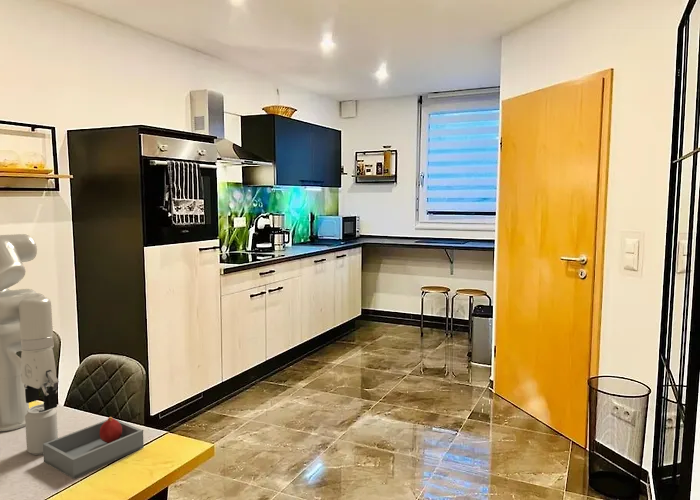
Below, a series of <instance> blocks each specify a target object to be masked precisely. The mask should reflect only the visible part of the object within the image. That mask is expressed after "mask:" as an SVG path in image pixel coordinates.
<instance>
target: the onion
mask: <svg viewBox="0 0 700 500" xmlns="http://www.w3.org/2000/svg"><path fill="white" fill-rule="evenodd" d="M113 418H114V417H112V416H109V417H108V418H107V419H106V420H107V421H106V422H104V423H103V425H102V426H101V428H100V438H101V439H102V440H103V441H104V442H106V443H111V442H113V441H116V440H118V439H119V438H120V437H121V435H122V426H121V424H120V423H119V422H118V421H117V420H118V419H117V420H115V419H116V418H114V419H113Z"/></svg>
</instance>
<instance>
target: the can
mask: <svg viewBox="0 0 700 500" xmlns="http://www.w3.org/2000/svg"><path fill="white" fill-rule="evenodd" d="M27 412H28V413H27V414H26V415H25V425H26V426H25V440H26V452H28V453H30V454H31V455H35V456H36V455H37V456H38V455H43V444H44V443H46V442H49V441H52V440H54V439H57V438H59V434H58V433H59V432H58V430H59V429H58V416H57V415H58V414H57V413H58V412H57V409H56V408H52V409H49V410H44V403H41V404H37V405H34V406H31V407H29V409H28V410H27Z"/></svg>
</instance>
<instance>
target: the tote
mask: <svg viewBox="0 0 700 500" xmlns="http://www.w3.org/2000/svg"><path fill="white" fill-rule="evenodd" d="M112 418H113V419H115V420H117V421H118V422H119V423H120V424H121V426H122V435H121V437H120V438H119V439H118V440H116V441H113V442H111V443H106V442H104V441H103V440H102V439H101V438H100V428H101V426H102V425H103V423H104V422H106V421H107V420H108V419H105V420H102V421H100V422H97V423H95V424H92V425H89V426H87V427H84V428H82V429H79V430H76V431H73V432H71V433H68V434H65V435H63V436H60V437H58V438H57V439H54V440H52V441H49V442H46V443H44V444H43V454H42V455H43V463H45V464H47V465H48V466H50V467H52V468H53V469H55V470H57V471H59V472H61V473H62V474H64V475H66V476H68V477H69V478H71V479H73V480H75V479H77V478H80V477H82V476H83V475H86V474H89V473H91V472H92V471H95V470H97V469H100V468H102V467H104V466H106V465H108V464H110V463H113V462H115V461H117V460H119V459H122V458H125V456H128V455H131V454H133V453H135V452H137V451H140V450H142V449H143V448H144V430H143V429H140V428H137V427H135V426H133V425H131V424H129V423H126V422H123V421H121V420H119V419H116V418H114V417H112Z"/></svg>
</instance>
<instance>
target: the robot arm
mask: <svg viewBox="0 0 700 500" xmlns="http://www.w3.org/2000/svg"><path fill="white" fill-rule="evenodd" d="M37 247H38V246H37V243H36V242H35V240H34V238H33V237H32V236H31V235H29V234H24V233H21V234H20V233H18V234H17V233H16V234H15V233H14V234H0V432H7V431H15V430H17V429H21V428H24V427H26V425H25V415H26V414H27V413H28V412H27V410H28V409H29V408H30V403H32V402H37V401H38V400H40V392H39V390H40V389H42V391H43V394H44V395H42V399H43V404H44V410H49V409H52V408H54V409H56V408H57V407H58V398H57V397H58V396H57V395H58V394H57V393H58V389H59V386H58V385H59V382H60V381H59V379H58V377H57V370H56V362H55V361H56V360H55V355H54V354H55V353H54V349H53V348H54V347H55V343H54V331H53V330H54V329H53V328H54V327H53V313H52V301H51V299H50V298H49V297H45V295H43V294H42V293H39V292H38V293H37V292H36V291H35V290H33V289H30V288H21V289H19V288H18V289H9V288H10V287H12V286H15V285H16V284H18V283H20V282H21V280H23V279H24V277H25V276H26V268H25V266H24V264H23V263H27V262H31V261H33V260H34V259H36V256H37V254H38V253H37V252H38V248H37ZM17 352H21V353H20V354H21V355H20V356H18V354H17ZM47 387H48V388H47Z"/></svg>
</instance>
